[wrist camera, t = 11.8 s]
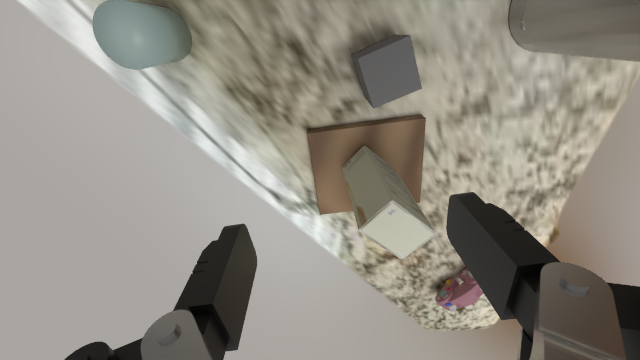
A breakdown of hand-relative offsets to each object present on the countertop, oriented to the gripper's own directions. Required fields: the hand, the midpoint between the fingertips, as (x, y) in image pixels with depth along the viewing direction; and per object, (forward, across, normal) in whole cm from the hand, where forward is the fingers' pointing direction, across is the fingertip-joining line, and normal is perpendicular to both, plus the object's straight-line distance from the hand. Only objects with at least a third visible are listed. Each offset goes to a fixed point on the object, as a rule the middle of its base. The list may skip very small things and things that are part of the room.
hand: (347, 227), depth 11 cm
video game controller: (+24, -19, +34) cm, 46 cm away
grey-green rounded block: (+24, +15, -9) cm, 30 cm away
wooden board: (+24, -4, +10) cm, 26 cm away
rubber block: (+24, -7, -2) cm, 25 cm away
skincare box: (+22, -5, +10) cm, 25 cm away
